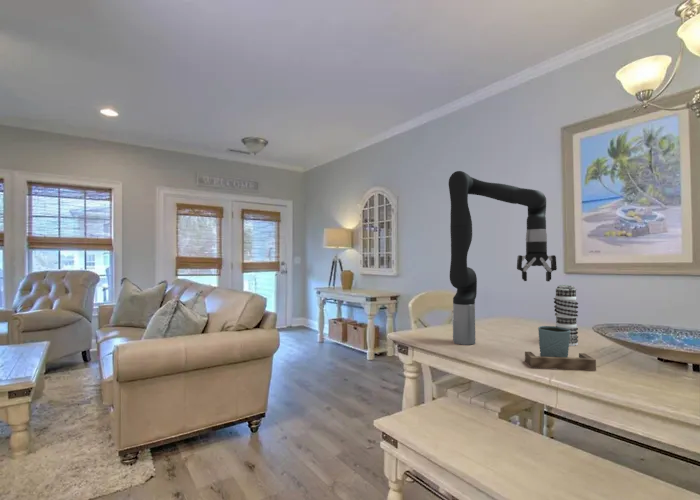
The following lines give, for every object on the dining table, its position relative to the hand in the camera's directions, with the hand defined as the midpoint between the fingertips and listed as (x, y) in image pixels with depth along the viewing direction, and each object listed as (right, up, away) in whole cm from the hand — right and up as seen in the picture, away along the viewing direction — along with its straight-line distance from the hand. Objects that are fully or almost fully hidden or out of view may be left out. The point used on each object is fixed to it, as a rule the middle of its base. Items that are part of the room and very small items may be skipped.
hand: (536, 281), depth 149 cm
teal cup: (-1, -28, -15) cm, 32 cm away
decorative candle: (+18, -28, +11) cm, 35 cm away
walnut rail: (-2, -28, -20) cm, 34 cm away
